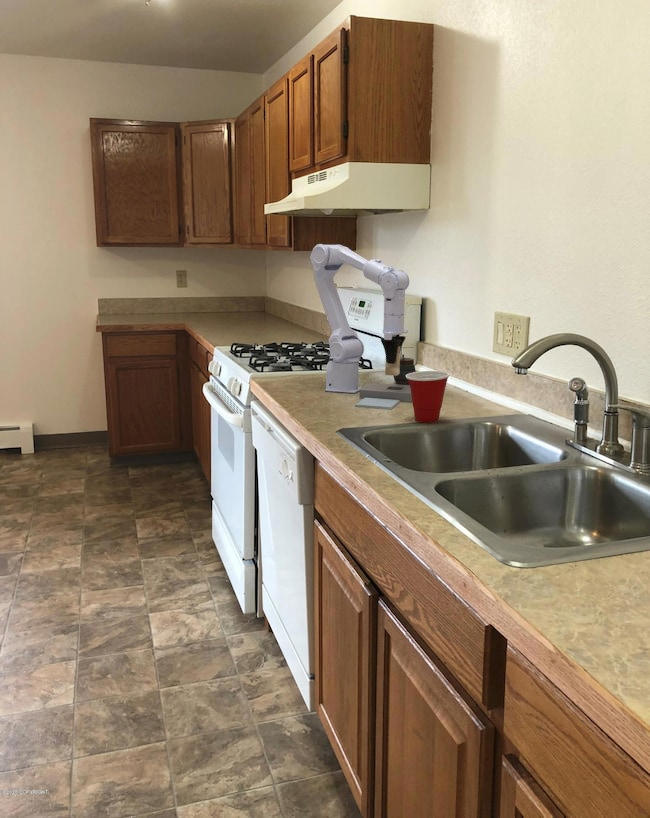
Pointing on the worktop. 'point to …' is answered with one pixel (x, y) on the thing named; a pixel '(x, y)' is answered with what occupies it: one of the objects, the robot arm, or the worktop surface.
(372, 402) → the mat
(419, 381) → the plastic cup
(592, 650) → the worktop surface
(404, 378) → the mate gourd
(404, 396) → the grey flat plate
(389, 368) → the plug
